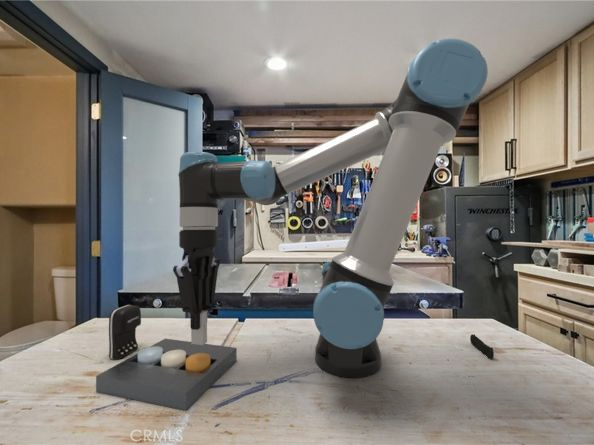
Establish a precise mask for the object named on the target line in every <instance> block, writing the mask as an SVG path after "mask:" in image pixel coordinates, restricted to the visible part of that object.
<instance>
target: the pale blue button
mask: <svg viewBox="0 0 594 445" xmlns="http://www.w3.org/2000/svg"><path fill="white" fill-rule="evenodd" d="M137 354H138V363H143V364H149V365H152V364H153V363H155V362H156V361H158V360H160V359H161V356H162V355H163V348H162V347H157V346H155V347H150V346H149V347H146V348H142V349H141V350H139V351H138V352H137Z"/></svg>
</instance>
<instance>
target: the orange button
mask: <svg viewBox="0 0 594 445" xmlns="http://www.w3.org/2000/svg"><path fill="white" fill-rule="evenodd" d="M209 367H210V355H209V354H207V353H197V354H193V355H191V356H189V357H188V358H187V359H186V371H191V372H197V373H203V372H204V371H205V370H206V369H207V368H209Z"/></svg>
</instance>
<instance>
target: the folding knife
mask: <svg viewBox="0 0 594 445" xmlns="http://www.w3.org/2000/svg"><path fill="white" fill-rule="evenodd" d="M469 338H470V340H469V341H470V344H471V345H472V346H473V347H474V348H475V349H477V350H478V351H479V352H480V351H481V352H482V353H481V352H480V353H481V354H483V355H484V356H485V355H486V356H487V357H488V358H487V357H486V356H485V357H486V358H487V359H489V360H492V359H494V356H495V353H494V349H493V347H490V346H489V345H488V344H486V343H485V342H484V341H482V339H480V338H479V337H477V336H476V334H475V333H473V334H471V335H470V337H469Z"/></svg>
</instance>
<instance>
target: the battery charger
mask: <svg viewBox="0 0 594 445" xmlns="http://www.w3.org/2000/svg"><path fill="white" fill-rule="evenodd" d="M141 324H142V313H141V308H140V307H139V306H138V305H132V304H126V305H124V306H120V307H117V308H116V309H114V310H112V311H111V312H110V314H109V319H108V343H109V344H108V345H109V346H108V348H109V349H108V350H109V352H108V353H109V354H108V358H109V359H112V360H113V359H114V360H115V359H122V358H125V357H127V356H128V355H130V354H131V353H133V352H135V351H137V350H138V348H139V346H138V345H139V344H138V342H137V338H136V337H137V336H136V330H137V327H139V326H141Z"/></svg>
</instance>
